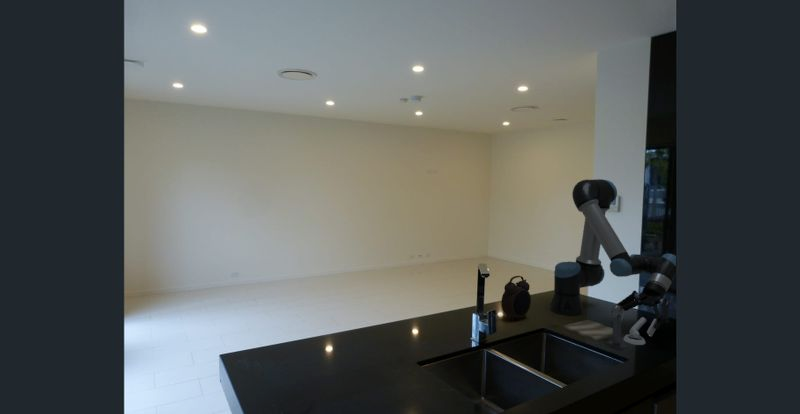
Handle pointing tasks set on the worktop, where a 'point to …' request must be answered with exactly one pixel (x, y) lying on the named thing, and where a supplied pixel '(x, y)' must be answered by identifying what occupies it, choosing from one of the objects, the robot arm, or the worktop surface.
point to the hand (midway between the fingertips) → (632, 328)
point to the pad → (590, 329)
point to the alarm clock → (516, 298)
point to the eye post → (617, 328)
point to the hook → (636, 333)
